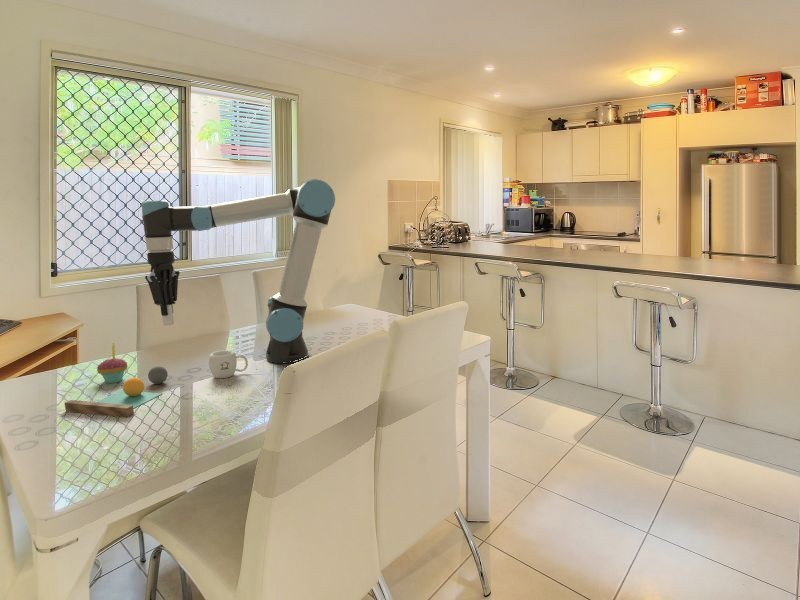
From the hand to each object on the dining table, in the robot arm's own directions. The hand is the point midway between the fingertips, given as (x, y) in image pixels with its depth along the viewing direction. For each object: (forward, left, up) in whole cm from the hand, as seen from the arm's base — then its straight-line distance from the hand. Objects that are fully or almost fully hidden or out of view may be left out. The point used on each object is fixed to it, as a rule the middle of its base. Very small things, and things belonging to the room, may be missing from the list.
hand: (168, 324), depth 154 cm
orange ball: (0, +17, -15) cm, 22 cm away
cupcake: (+17, +6, -18) cm, 26 cm away
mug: (-17, -6, -18) cm, 25 cm away
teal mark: (0, +21, -18) cm, 27 cm away
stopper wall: (0, +29, -18) cm, 34 cm away
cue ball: (+1, +6, -15) cm, 16 cm away
